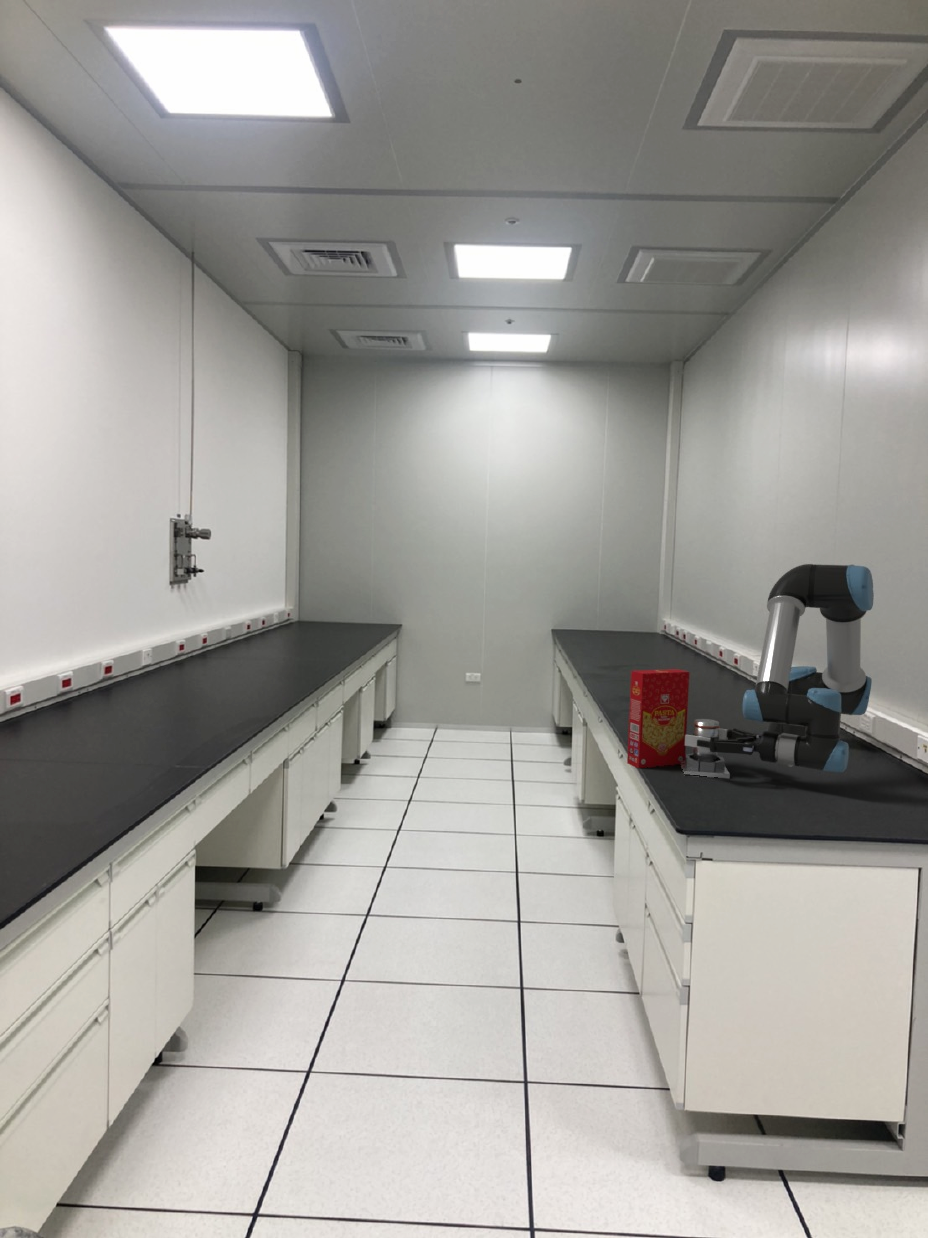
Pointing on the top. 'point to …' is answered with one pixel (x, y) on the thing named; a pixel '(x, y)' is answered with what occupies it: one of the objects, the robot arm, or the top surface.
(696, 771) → the mount
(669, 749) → the food packaging
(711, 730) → the lens
